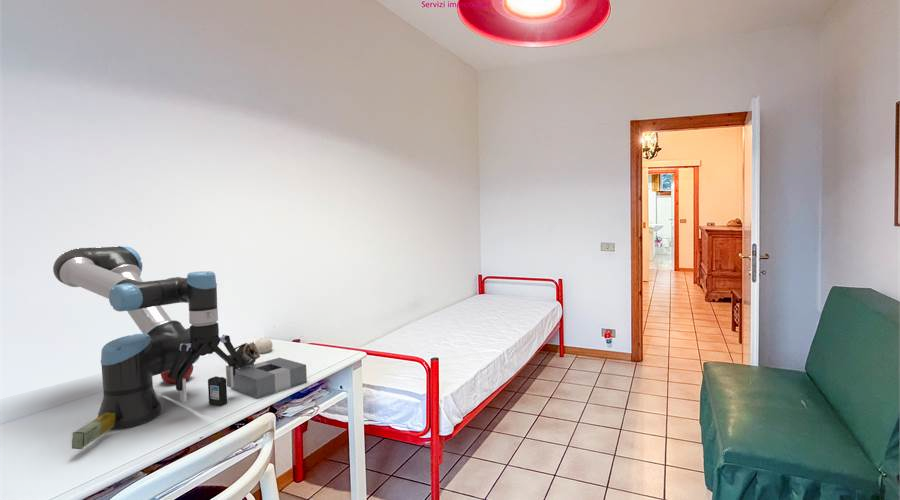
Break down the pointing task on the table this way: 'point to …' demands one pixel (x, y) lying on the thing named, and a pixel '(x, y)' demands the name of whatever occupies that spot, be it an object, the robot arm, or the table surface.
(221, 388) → the ink cartridge
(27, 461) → the table surface
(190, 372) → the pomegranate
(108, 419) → the medication box
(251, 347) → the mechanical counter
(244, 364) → the power plug
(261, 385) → the grey block with hole
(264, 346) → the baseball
